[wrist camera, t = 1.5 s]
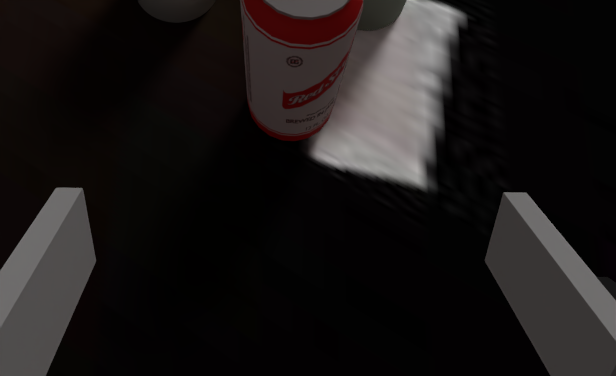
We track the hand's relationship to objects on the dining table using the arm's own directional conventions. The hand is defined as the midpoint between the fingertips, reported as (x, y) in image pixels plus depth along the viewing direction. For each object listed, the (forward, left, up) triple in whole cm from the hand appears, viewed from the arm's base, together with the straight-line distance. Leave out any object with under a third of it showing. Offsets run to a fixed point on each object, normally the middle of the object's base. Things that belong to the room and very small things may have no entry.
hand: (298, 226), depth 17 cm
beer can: (-1, -13, -21) cm, 25 cm away
